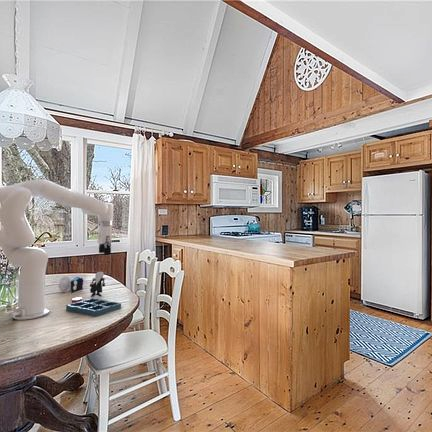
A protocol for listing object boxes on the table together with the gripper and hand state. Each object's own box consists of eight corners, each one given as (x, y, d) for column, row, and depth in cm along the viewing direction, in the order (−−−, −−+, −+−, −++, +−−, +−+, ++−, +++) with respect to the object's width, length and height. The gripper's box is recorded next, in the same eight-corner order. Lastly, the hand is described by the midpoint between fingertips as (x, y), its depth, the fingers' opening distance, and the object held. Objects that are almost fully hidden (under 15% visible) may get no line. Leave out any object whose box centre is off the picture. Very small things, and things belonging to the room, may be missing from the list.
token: (75, 306, 156) (75, 300, 156) (69, 304, 158) (69, 299, 158) (84, 303, 160) (84, 298, 160) (78, 302, 162) (78, 297, 162)
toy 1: (87, 291, 191) (67, 294, 177) (73, 288, 193) (51, 291, 178) (90, 276, 192) (70, 278, 178) (76, 274, 194) (55, 276, 179)
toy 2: (106, 308, 184) (110, 286, 194) (102, 291, 171) (107, 268, 180) (92, 309, 181) (97, 287, 191) (86, 292, 168) (92, 269, 178)
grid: (95, 316, 142) (95, 310, 142) (66, 310, 149) (66, 305, 149) (121, 308, 155) (121, 303, 155) (92, 303, 162) (93, 298, 162)
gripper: (93, 223, 177) (92, 252, 177) (102, 224, 166) (101, 255, 166) (108, 223, 183) (107, 251, 183) (117, 224, 171) (116, 254, 171)
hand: (104, 253), depth 174 cm, fingers open, 9 cm apart
